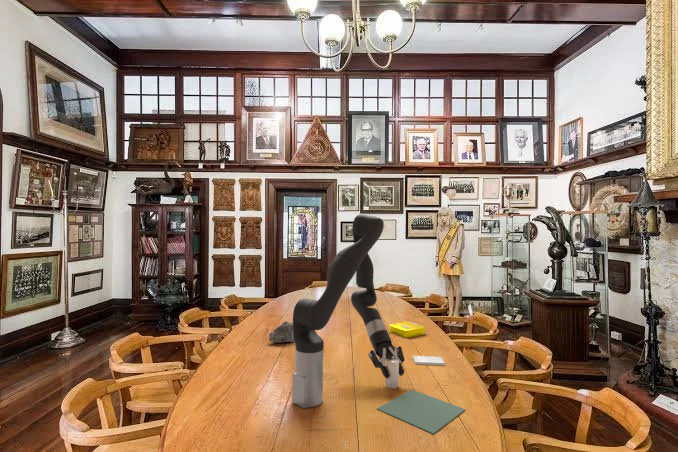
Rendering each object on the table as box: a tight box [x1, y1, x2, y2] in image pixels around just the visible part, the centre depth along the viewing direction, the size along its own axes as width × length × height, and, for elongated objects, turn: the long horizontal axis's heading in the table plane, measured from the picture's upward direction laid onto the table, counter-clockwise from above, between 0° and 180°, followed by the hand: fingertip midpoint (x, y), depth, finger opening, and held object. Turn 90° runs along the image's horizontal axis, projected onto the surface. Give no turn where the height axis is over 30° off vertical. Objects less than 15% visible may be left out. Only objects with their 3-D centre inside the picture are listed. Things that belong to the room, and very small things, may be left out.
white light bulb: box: [385, 359, 400, 390], centre depth 136 cm, size 4×4×9 cm
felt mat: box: [376, 389, 466, 435], centre depth 119 cm, size 20×20×1 cm
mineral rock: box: [268, 320, 295, 344], centre depth 186 cm, size 13×11×10 cm
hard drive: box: [412, 355, 446, 367], centre depth 162 cm, size 2×8×12 cm
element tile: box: [388, 320, 426, 339], centre depth 207 cm, size 15×15×5 cm
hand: (395, 375), depth 135 cm, fingers open, 5 cm apart
